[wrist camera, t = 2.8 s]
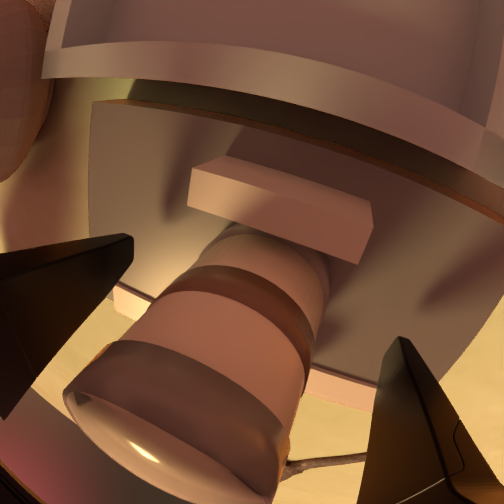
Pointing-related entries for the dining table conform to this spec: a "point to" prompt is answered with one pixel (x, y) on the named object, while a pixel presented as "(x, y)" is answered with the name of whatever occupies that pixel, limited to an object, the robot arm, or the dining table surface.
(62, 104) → the dining table surface
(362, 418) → the dining table surface
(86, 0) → the tray
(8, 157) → the coffee pot
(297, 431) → the dining table surface
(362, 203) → the fuse panel
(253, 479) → the cylinder
